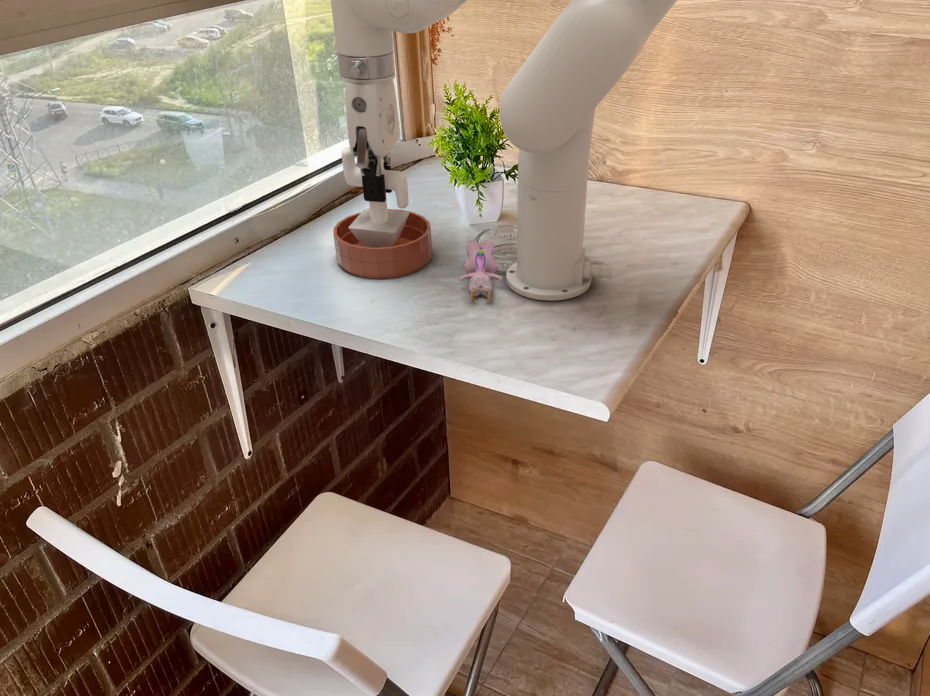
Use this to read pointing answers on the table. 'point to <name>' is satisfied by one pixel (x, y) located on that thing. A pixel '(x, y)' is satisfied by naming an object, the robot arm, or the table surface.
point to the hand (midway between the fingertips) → (378, 195)
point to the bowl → (384, 249)
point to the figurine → (377, 206)
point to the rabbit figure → (480, 269)
